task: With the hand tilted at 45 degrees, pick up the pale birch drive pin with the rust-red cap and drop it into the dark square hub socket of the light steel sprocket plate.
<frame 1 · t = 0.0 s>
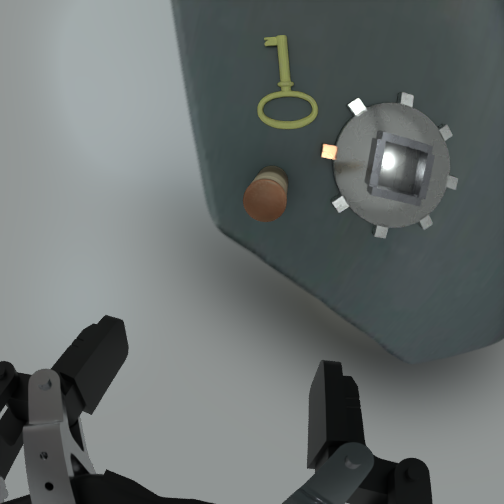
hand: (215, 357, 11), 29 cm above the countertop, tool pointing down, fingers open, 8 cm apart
sprocket plate: (392, 164, 34), on the countertop
key: (285, 85, 32), on the countertop
drive pin: (272, 181, 37), on the countertop
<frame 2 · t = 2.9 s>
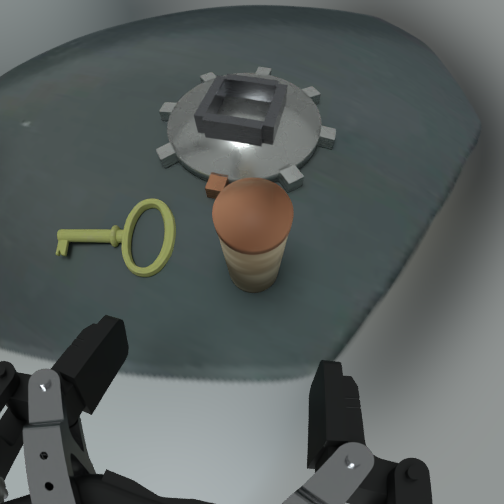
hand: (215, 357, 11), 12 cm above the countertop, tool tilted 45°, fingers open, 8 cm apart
sprocket plate: (244, 125, 30), on the countertop
key: (120, 241, 26), on the countertop
drive pin: (253, 268, 24), on the countertop
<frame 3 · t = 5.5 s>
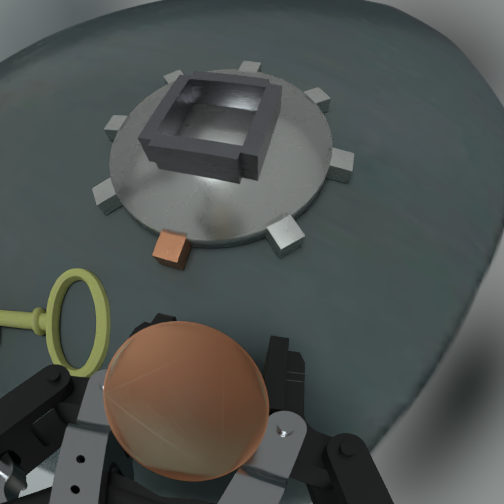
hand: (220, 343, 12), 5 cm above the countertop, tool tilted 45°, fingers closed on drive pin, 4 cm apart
sprocket plate: (218, 146, 21), on the countertop
key: (49, 325, 17), on the countertop
drive pin: (223, 380, 15), on the countertop, touching gripper
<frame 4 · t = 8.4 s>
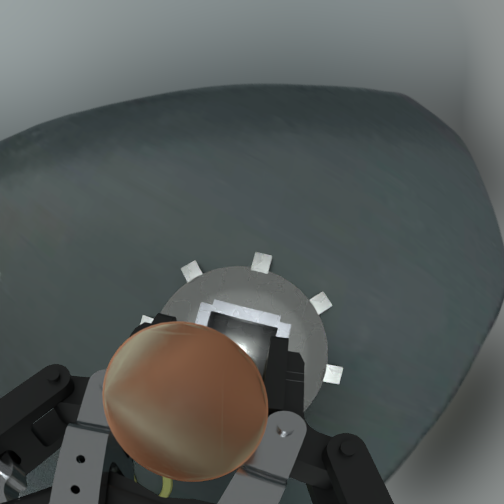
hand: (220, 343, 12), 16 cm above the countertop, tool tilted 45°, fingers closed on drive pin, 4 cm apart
sprocket plate: (238, 353, 27), on the countertop
drive pin: (224, 380, 15), point 11 cm above the countertop, touching gripper
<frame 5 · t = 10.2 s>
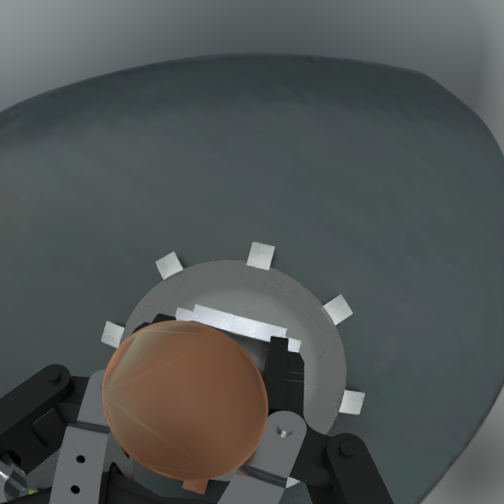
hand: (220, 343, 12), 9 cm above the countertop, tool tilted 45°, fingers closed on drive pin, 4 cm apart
sprocket plate: (228, 374, 20), on the countertop
drive pin: (224, 380, 15), point 5 cm above the countertop, touching gripper
when the fingers open (7 cm above the countertop, at t = 11.4 s): drive pin drops 1 cm, resting on sprocket plate.
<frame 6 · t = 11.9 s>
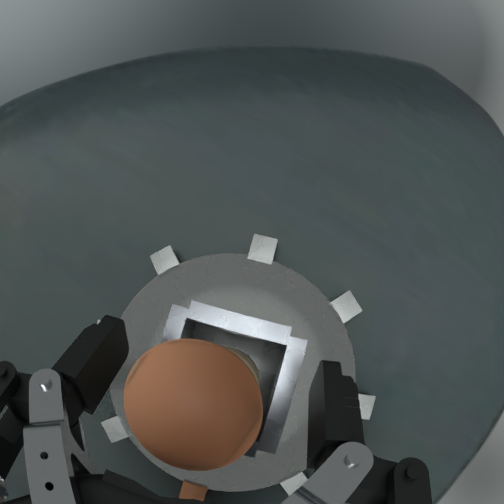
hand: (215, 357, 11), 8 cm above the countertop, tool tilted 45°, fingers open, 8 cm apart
sprocket plate: (228, 376, 18), on the countertop
drive pin: (226, 379, 17), point 2 cm above the countertop, touching sprocket plate
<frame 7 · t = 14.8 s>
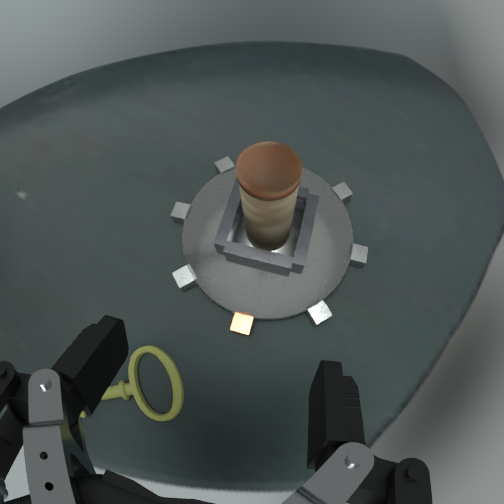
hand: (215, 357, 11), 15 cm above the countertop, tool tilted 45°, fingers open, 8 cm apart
sprocket plate: (267, 236, 29), on the countertop
key: (130, 389, 25), on the countertop
drive pin: (267, 230, 27), point 2 cm above the countertop, touching sprocket plate
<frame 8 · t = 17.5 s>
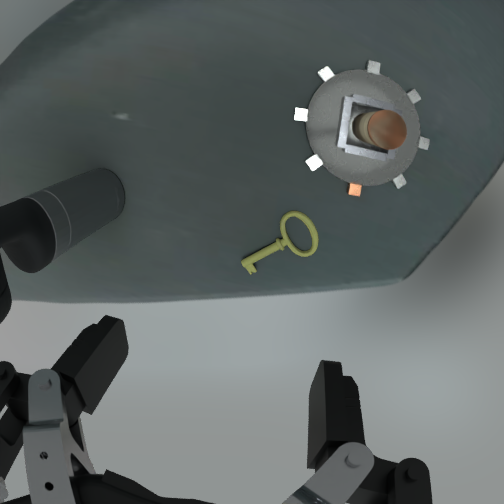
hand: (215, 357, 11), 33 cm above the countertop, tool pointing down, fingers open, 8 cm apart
sprocket plate: (363, 127, 36), on the countertop
key: (280, 241, 45), on the countertop
drive pin: (366, 127, 34), point 2 cm above the countertop, touching sprocket plate
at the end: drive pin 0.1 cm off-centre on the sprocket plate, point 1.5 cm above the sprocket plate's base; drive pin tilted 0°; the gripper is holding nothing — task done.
